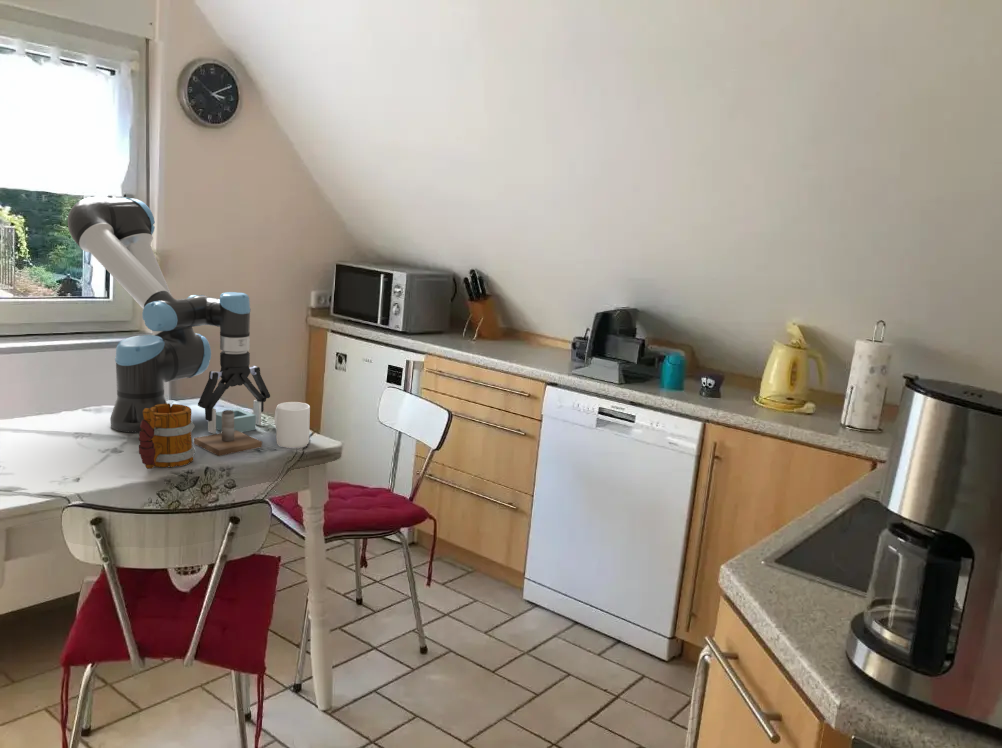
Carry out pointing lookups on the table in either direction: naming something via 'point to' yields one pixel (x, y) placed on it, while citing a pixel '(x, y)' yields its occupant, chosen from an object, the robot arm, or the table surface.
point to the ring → (239, 420)
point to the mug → (166, 436)
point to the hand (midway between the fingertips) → (235, 428)
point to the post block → (227, 438)
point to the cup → (292, 424)
